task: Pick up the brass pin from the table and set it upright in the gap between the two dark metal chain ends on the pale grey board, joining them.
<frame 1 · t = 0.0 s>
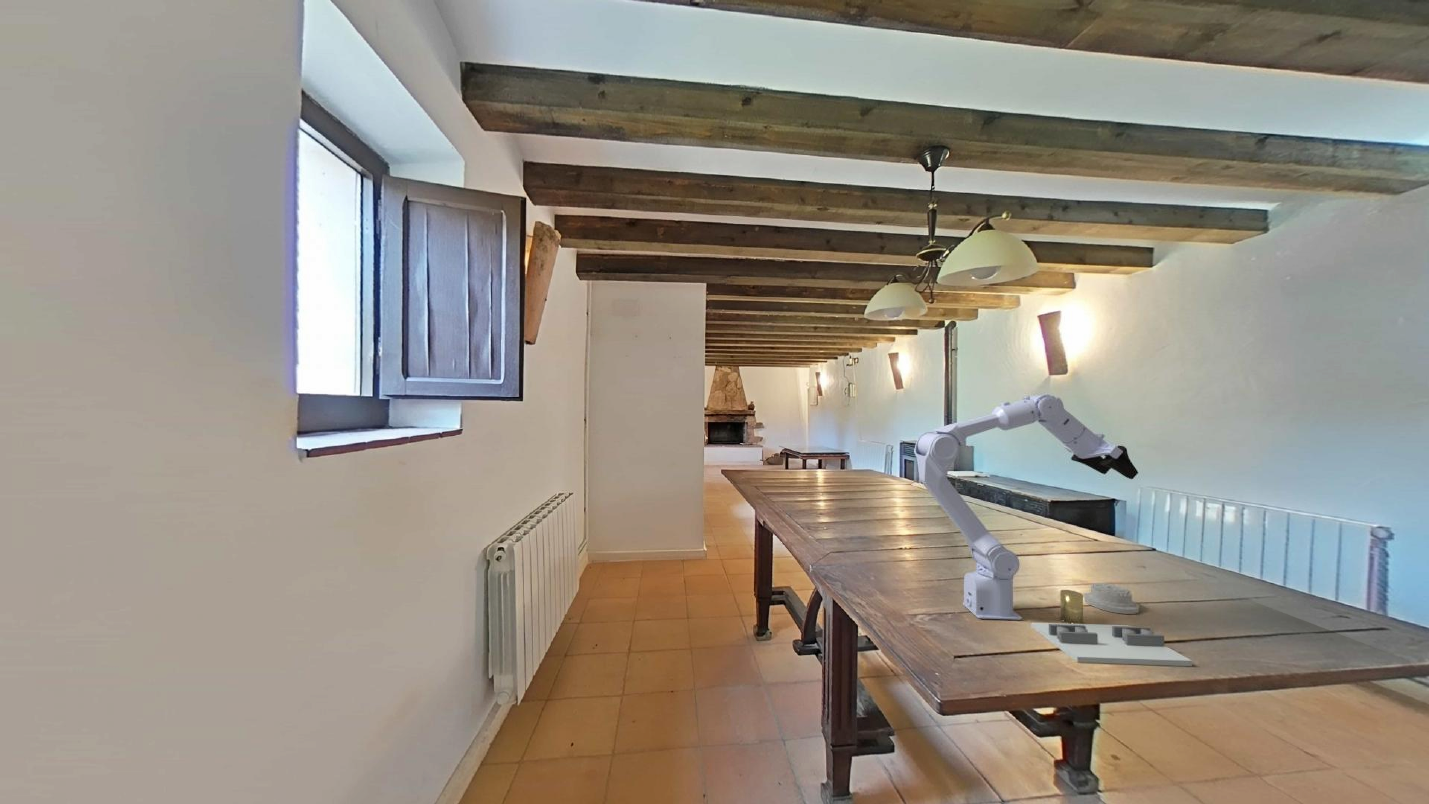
hand: (1120, 473, 107), 32 cm above the table, tool tilted 50°, fingers open, 7 cm apart
chain base: (1105, 645, 94), on the table
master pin: (1071, 620, 105), on the table
mechanical component: (1110, 607, 113), on the table
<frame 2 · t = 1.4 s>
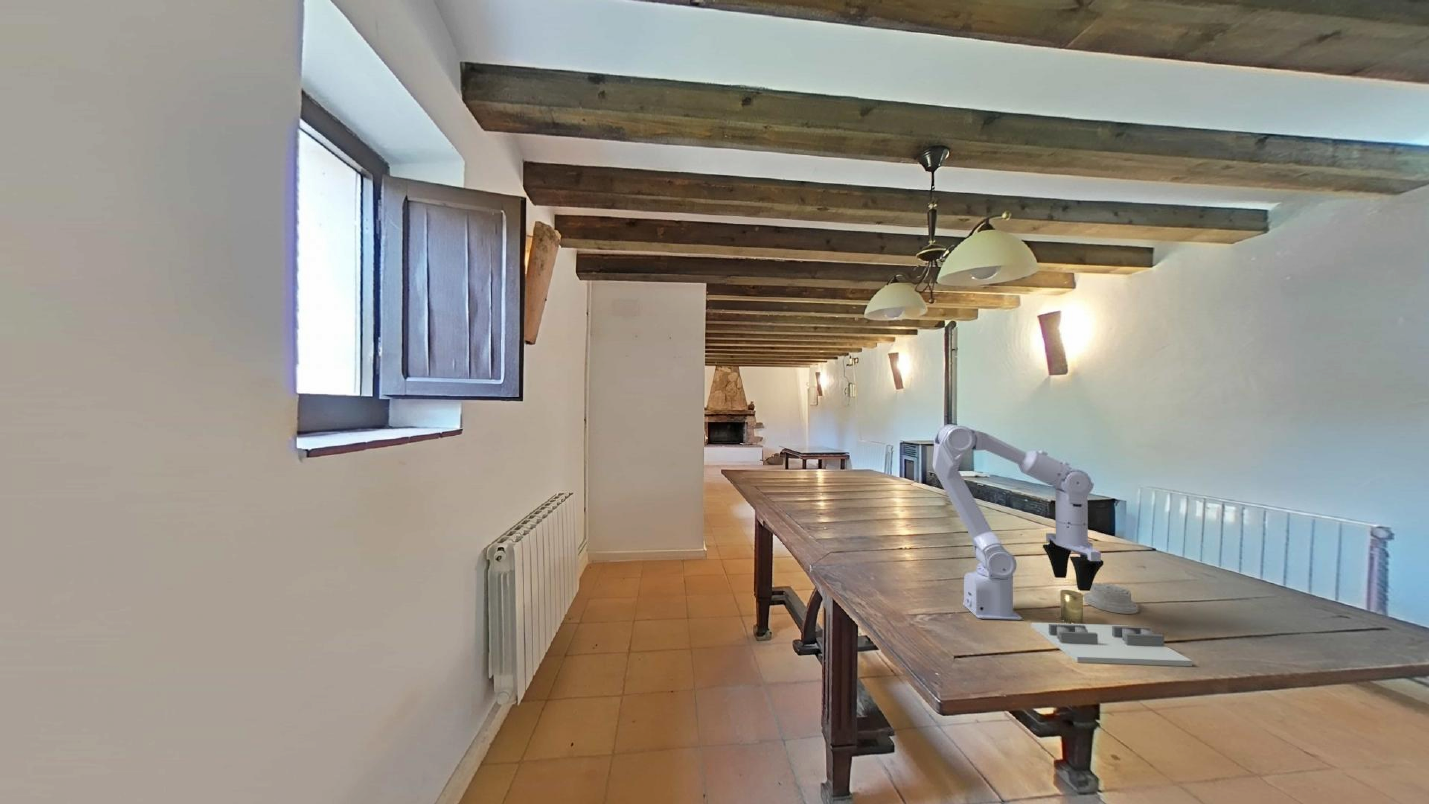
hand: (1071, 583, 105), 8 cm above the table, tool pointing down, fingers open, 7 cm apart
nothing on the table moved.
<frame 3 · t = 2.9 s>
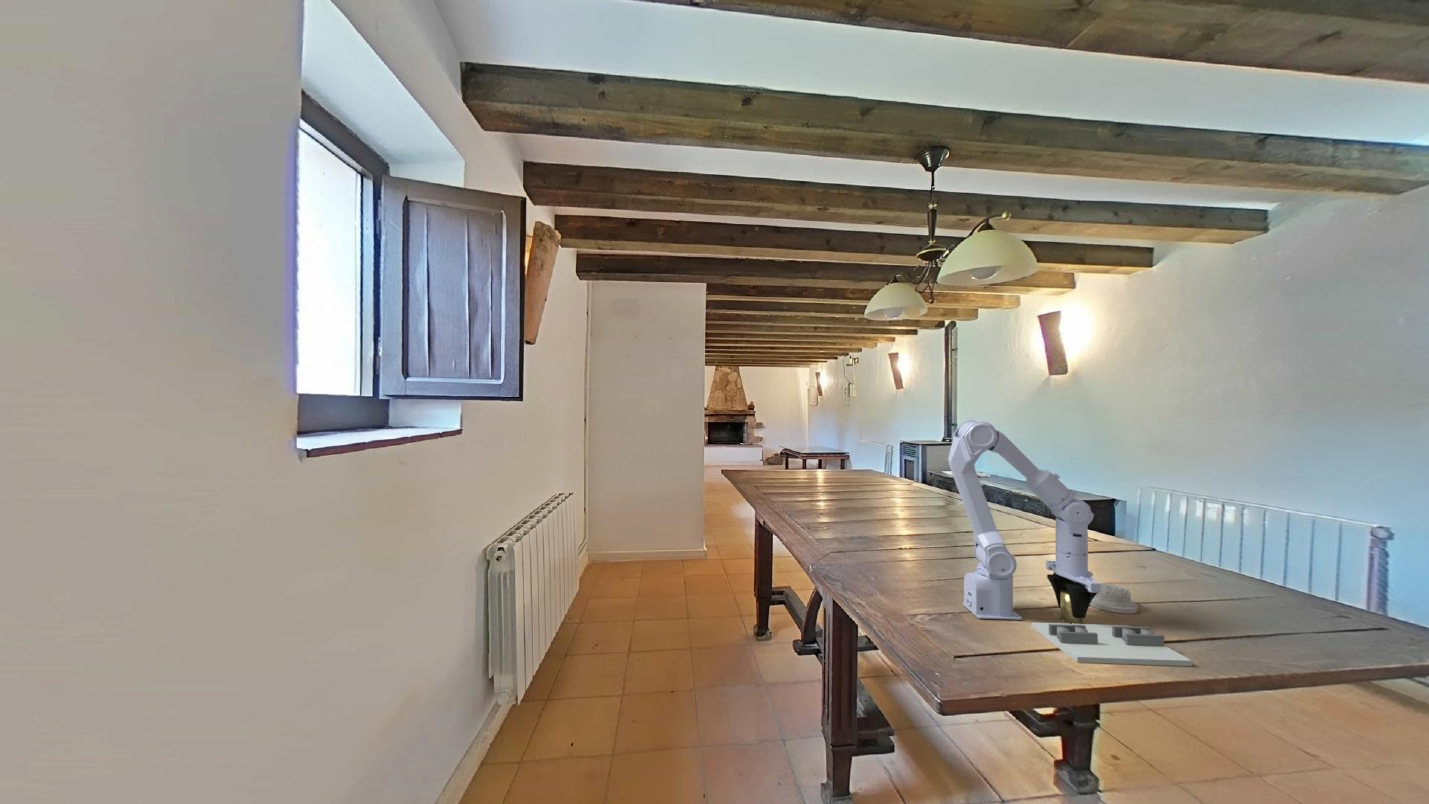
hand: (1071, 613, 105), 2 cm above the table, tool pointing down, fingers closed on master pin, 4 cm apart
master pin: (1071, 620, 105), on the table, touching gripper
everything else where it was.
when the fingers open (4 cm above the table, at t = 6.6 s): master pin stays where it is, resting on chain base.
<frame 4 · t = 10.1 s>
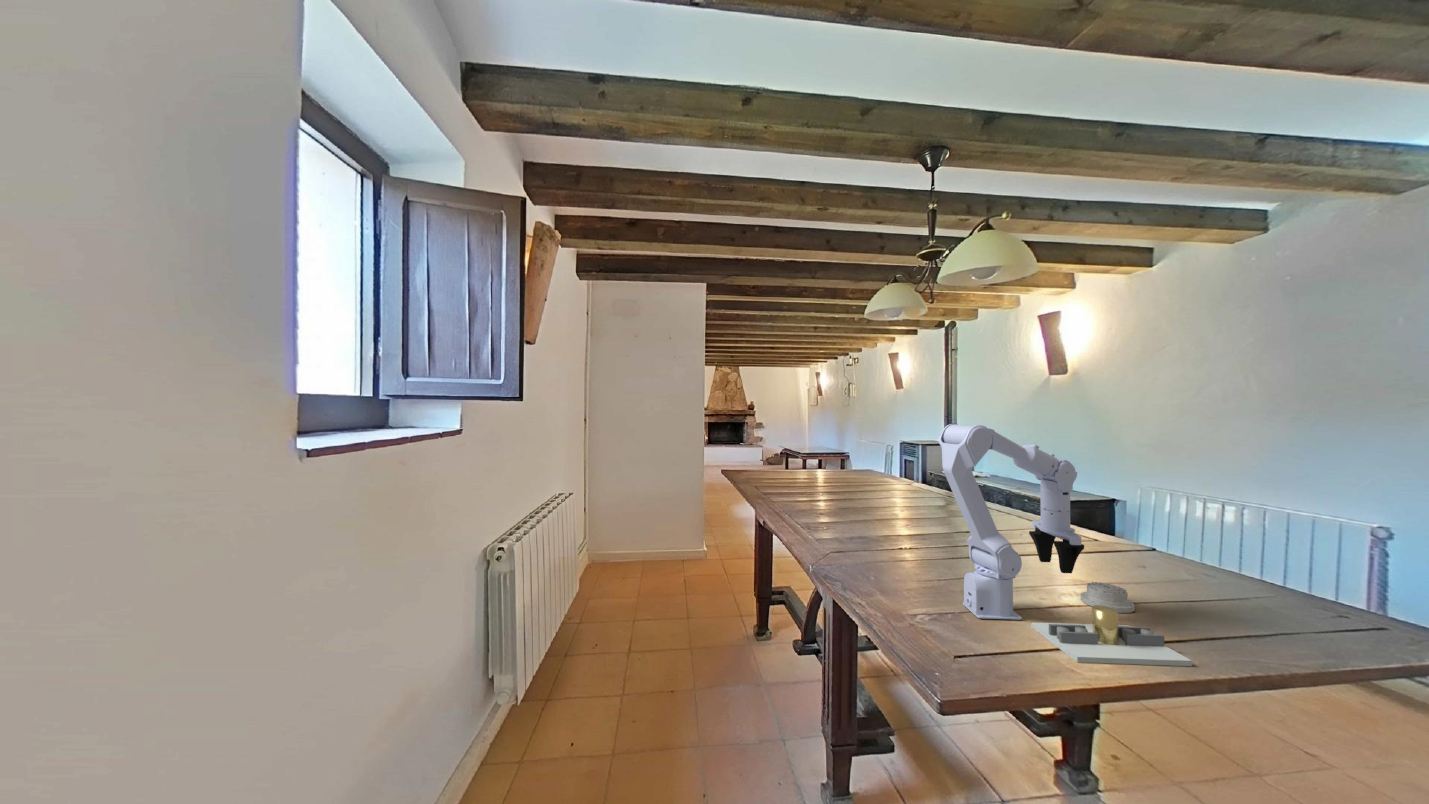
hand: (1055, 567, 112), 9 cm above the table, tool pointing down, fingers open, 7 cm apart
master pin: (1105, 640, 94), point 1 cm above the table, touching chain base
everything else where it was.
at the end: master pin 0.1 cm off-centre on the chain base, point 1.1 cm above the chain base's base; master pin tilted 2°; the gripper is holding nothing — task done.
